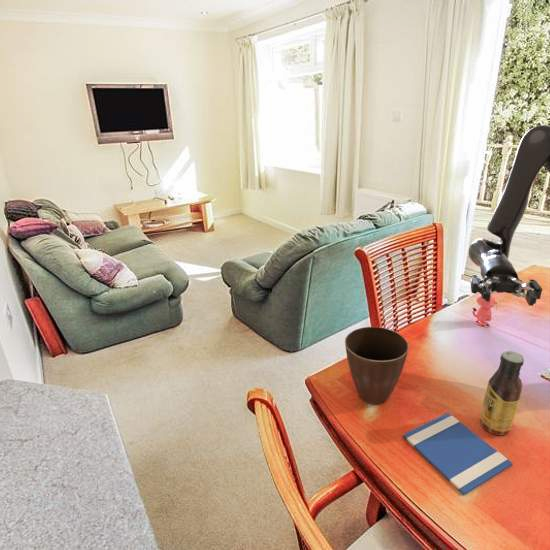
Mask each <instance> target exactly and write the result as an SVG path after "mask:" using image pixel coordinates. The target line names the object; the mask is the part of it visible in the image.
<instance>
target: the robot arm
mask: <svg viewBox="0 0 550 550" xmlns="http://www.w3.org/2000/svg"><path fill="white" fill-rule="evenodd" d="M542 168H545V170H546V171H548V173H549V174H550V125H547V124H541V125H537V126H534V127H531V128H530V129H529V130H527V131H526V132H525V133H524V135H523V136H522V138H521V140H520V141H519V144H518V147H517V149H516V154H515V157H514V160H513V163H512V167H511V169H510V173H509V176H508V179H507V182H506V184H505V187H504V189H503V192H502V195H501V196H500V199H499V201H498V203H497V206H496V208H495V210H494V212H493V214H492V216H491V218H490V220H489V222H488V224H487V228H486V229H487V231H488V232H489V233H490V234H492V235H494V236H495V237H498V239H500V240H499V242H497V241H495V240H494V241H493V240H490V239H486V238H476V239H474V240H473V241H472V242H471V243H470V245H469V247H468V256H469V257H468V258H469V259H470V261H471V262H472V263H473V264H475V266H477V267H478V268H479V269H480V276H481V277H478V275H475V274H473V275H471V279H470V280H471V281H470V293H471V294H478V293H479V294H480V295H481V296H482V298H483V299H485V301H488V302H489V301H490V295H491V294H492V295H493V294H495V293H498V294H503V293H505V294H510V295H513V296H514V297H517V298H521V297H522V298H524V299H525V301H526V303H527V304H528V306H529V307H533V306H534V305H536V303H537V300H541V298H542V292H543V288H542V286H541V285H540V284H539V282H538V281H537V280H536V279H533V278H532V279H529V281H523V280H522V279H520V278H519V275H518V272H517V271H516V269H515V267H514V266H513V263H512V262H511V261H510V260H509V257H510V251H511V244H512V242H513V241H512V240H513V237H514V234H515V232H516V230H517V228H518V226H519V225H520V223H521V221H522V219H523V217H524V215H525V213H526V211H527V207H528V204H529V203H528V202H529V197H530V193H531V190H532V186H533V184H534V182H535V179H536V177H537V175H538V174H539V172H540V171H541V169H542ZM525 292H526V293H525Z"/></svg>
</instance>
